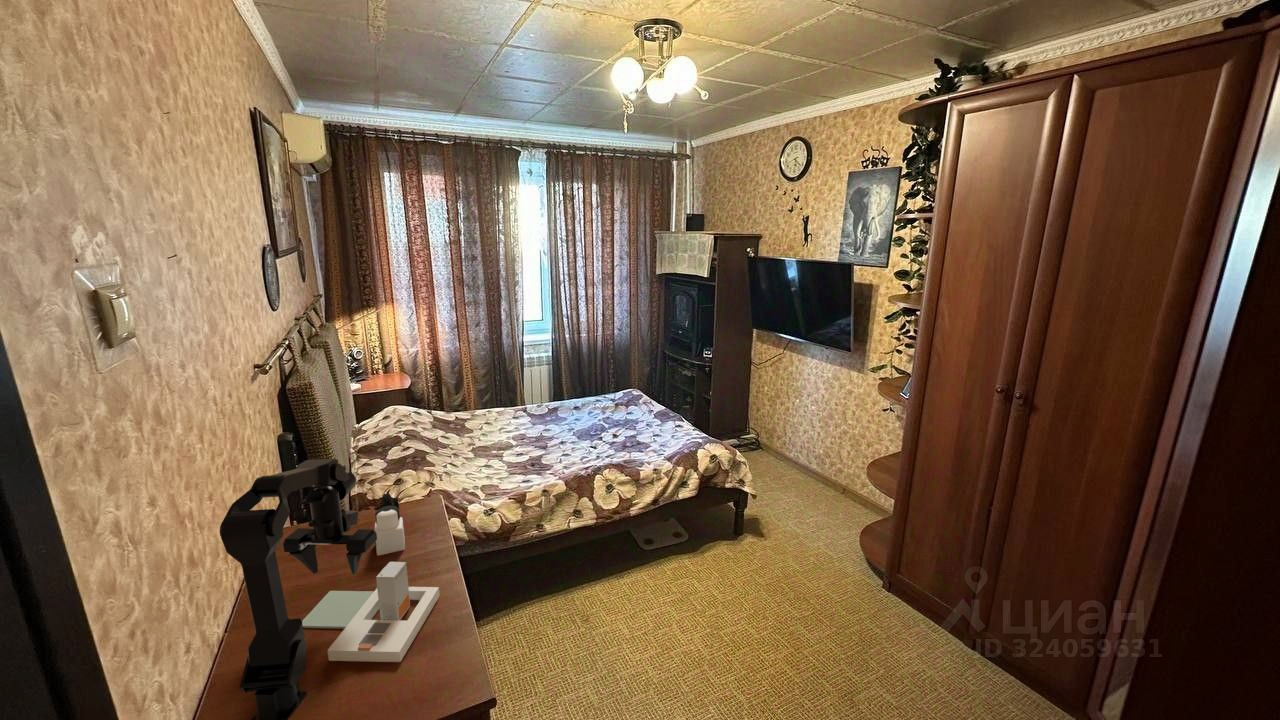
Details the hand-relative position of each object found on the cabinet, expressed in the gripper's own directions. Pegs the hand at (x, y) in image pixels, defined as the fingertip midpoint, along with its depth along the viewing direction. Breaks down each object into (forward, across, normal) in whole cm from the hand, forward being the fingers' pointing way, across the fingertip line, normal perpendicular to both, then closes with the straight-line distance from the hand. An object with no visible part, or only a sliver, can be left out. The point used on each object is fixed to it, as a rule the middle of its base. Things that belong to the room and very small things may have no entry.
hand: (335, 573), depth 120 cm
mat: (+10, 0, 0) cm, 10 cm away
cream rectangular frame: (+10, -14, +6) cm, 18 cm away
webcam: (+10, +7, -38) cm, 40 cm away
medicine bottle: (+10, 0, -26) cm, 27 cm away
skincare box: (+10, -14, +1) cm, 17 cm away
